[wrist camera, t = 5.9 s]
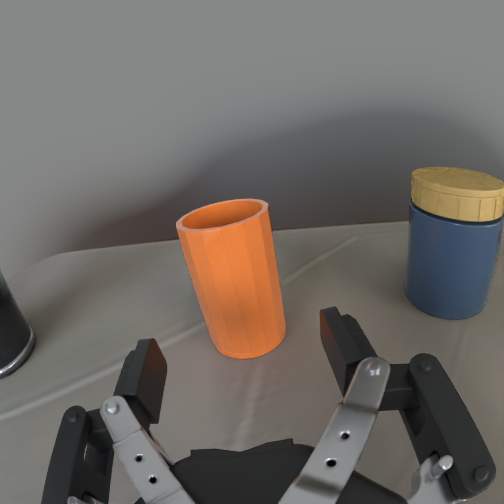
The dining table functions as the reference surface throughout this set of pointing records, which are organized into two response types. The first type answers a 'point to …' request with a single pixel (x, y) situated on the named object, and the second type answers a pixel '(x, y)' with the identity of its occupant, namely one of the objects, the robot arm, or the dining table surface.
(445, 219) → the jar
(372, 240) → the dining table surface
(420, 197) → the jar lid
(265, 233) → the cup
